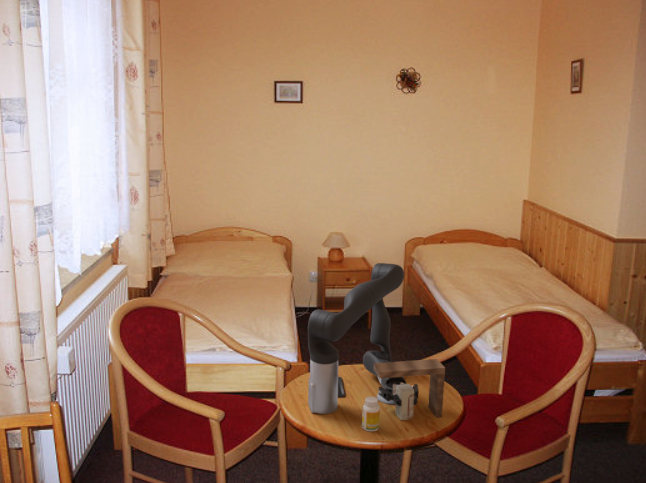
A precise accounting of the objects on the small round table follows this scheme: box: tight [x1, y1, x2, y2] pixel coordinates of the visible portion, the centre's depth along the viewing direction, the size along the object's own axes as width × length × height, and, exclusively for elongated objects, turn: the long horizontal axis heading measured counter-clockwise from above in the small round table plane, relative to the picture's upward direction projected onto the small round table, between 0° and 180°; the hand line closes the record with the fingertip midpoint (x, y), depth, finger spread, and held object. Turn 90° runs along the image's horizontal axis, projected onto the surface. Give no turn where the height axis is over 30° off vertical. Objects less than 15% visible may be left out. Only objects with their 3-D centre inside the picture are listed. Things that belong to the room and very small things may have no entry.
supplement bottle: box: [361, 396, 381, 432], centre depth 190 cm, size 5×5×10 cm
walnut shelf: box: [373, 358, 446, 418], centre depth 198 cm, size 22×7×17 cm, turn 102°
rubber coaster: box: [376, 392, 396, 406], centre depth 211 cm, size 10×10×1 cm
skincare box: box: [394, 383, 415, 421], centre depth 198 cm, size 5×4×10 cm
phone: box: [338, 376, 346, 398], centre depth 218 cm, size 8×1×15 cm
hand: (407, 402), depth 195 cm, fingers closed on skincare box, 4 cm apart
